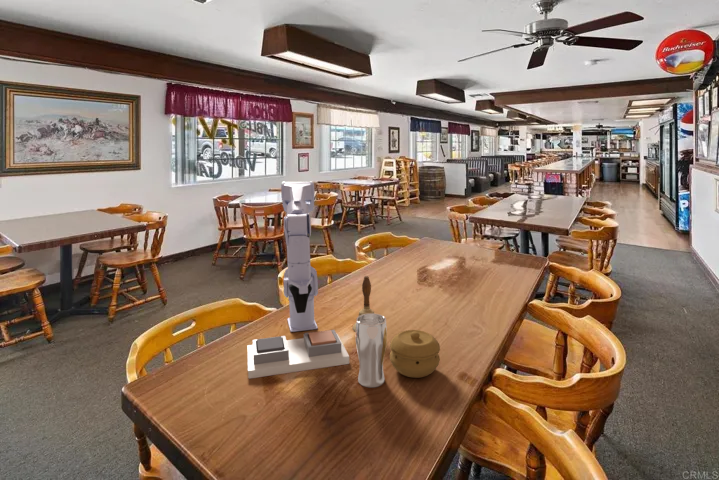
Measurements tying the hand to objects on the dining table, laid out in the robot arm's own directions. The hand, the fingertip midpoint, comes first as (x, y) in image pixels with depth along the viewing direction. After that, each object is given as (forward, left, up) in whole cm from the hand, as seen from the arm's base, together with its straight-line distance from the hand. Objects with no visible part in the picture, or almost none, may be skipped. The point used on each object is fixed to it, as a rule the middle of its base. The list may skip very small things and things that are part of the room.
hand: (300, 311), depth 105 cm
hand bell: (-8, +20, -11) cm, 24 cm away
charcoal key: (+4, -8, -9) cm, 13 cm away
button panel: (+4, -2, -10) cm, 11 cm away
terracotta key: (+4, +5, -9) cm, 11 cm away
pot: (+18, +24, -11) cm, 32 cm away
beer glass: (+19, +13, -11) cm, 26 cm away
